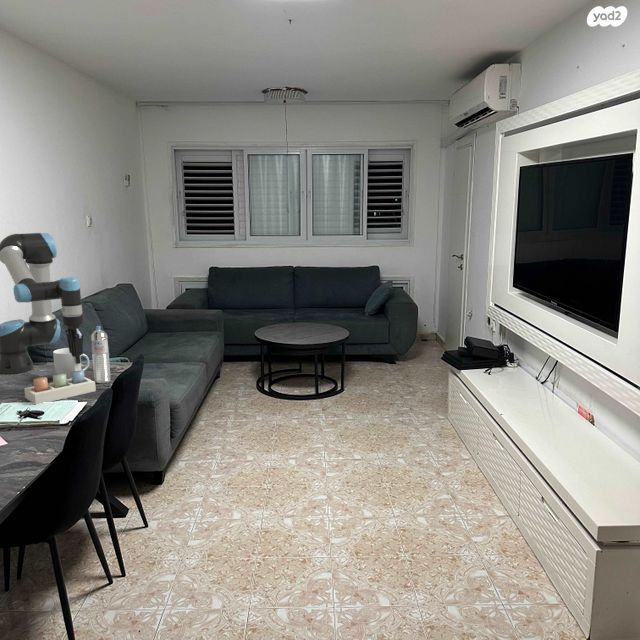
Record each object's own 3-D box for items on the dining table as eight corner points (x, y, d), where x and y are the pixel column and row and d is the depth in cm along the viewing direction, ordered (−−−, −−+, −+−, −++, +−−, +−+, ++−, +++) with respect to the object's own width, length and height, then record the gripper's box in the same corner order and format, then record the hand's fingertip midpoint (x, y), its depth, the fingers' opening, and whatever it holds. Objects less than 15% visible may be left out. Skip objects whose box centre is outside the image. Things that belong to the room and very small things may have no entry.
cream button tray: (25, 397, 234) (24, 388, 233) (83, 384, 251) (83, 376, 250) (35, 404, 226) (34, 395, 225) (95, 391, 242) (95, 381, 241)
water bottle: (114, 379, 258) (109, 325, 253) (104, 384, 251) (100, 328, 246) (100, 378, 260) (96, 324, 255) (91, 383, 253) (86, 327, 248)
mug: (86, 372, 270) (84, 345, 267) (94, 377, 262) (91, 349, 259) (52, 378, 261) (49, 350, 258) (59, 383, 252) (56, 354, 250)
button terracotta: (32, 390, 232) (31, 378, 231) (45, 388, 236) (44, 376, 235) (37, 393, 229) (35, 381, 228) (50, 390, 232) (49, 378, 231)
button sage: (51, 386, 238) (50, 375, 237) (64, 384, 241) (63, 372, 240) (56, 389, 234) (55, 377, 233) (69, 386, 237) (67, 375, 237)
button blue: (70, 382, 243) (69, 371, 242) (82, 380, 246) (81, 369, 245) (75, 385, 239) (74, 373, 238) (86, 382, 243) (86, 371, 242)
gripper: (57, 314, 239) (62, 369, 243) (69, 318, 230) (75, 375, 234) (75, 312, 244) (80, 366, 249) (88, 315, 235) (93, 371, 239)
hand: (77, 370), depth 241 cm, fingers closed
